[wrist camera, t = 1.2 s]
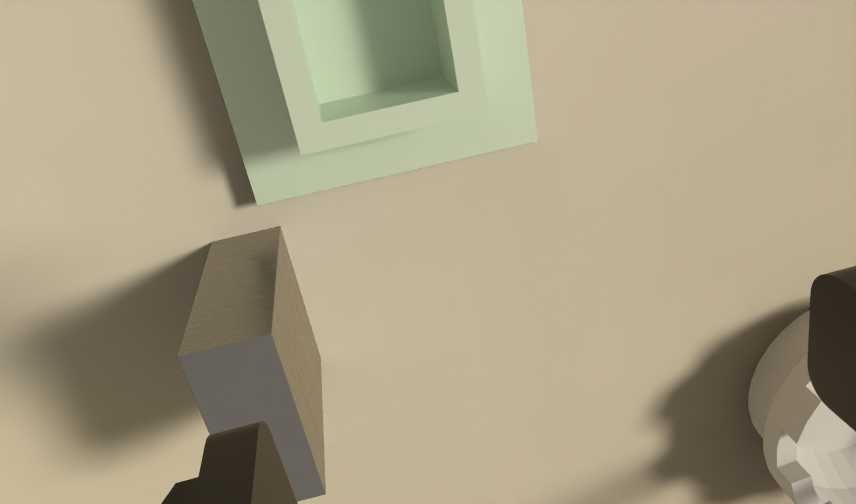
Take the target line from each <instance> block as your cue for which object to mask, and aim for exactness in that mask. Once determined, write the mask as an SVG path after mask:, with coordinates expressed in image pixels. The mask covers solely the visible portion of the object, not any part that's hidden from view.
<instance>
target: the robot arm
mask: <svg viewBox="0 0 856 504" xmlns="http://www.w3.org/2000/svg"><path fill="white" fill-rule="evenodd" d="M807 367H808V373H809V377H810V380H811V383H812V385H813V387H814V390H815V391H816V393H817V395H818V396H819V398H820V399H821V401H822V402H823V403H824V404H825V405H826V406H827V407H828V408H829V409H830V410H831V411H832V412H834V413H835V414H836V415H837V416H838V417H839V418H840V419H842V420H843V421H844V422H845V423H846V424H847V425H848V426H849V427H851V428H852V429H853V430H854V431H855V432H856V266H854V267H850V268H846V269H842V270H838V271H835V272H831V273H827V274H823V275H820V276H818V277H817V278H816V279H815V280H814V282H813V284H812V287H811V296H810V317H809V338H808V359H807ZM162 504H297V501H296V498H295V495H294V493H293V490H292V487H291V485H290V482H289V479H288V477H287V474H286V471H285V469H284V466H283V464H282V461H281V458H280V456H279V453H278V450H277V448H276V445H275V442H274V440H273V437H272V434H271V432H270V430H269V428H268V426H267V424H266V423H265V422H264V421H261V422H257V423H253V424H249V425H246V426H242V427H238V428H234V429H230V430H227V431H223V432H219V433H215V434H212V435H209V436H208V437H207V439H206V443H205V448H204V453H203V457H202V462H201V467H200V472H199V477H197V478H194V479H190V480H186V481H182V482H179V483H176V484H175V485H174V486H173V488H172V489H171V491H170V492H169V494H168V495H167V496H166V498H165V499H164V501H163V502H162Z"/></svg>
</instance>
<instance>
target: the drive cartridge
mask: <svg viewBox="0 0 856 504" xmlns="http://www.w3.org/2000/svg"><path fill="white" fill-rule="evenodd" d="M177 357H178V360H179V362H180V364H181V367H182V369H183V372H184V374H185V376H186V379H187V381H188V384H189V386H190V388H191V391H192V393H193V396H194V398H195V400H196V403H197V405H198V407H199V410H200V412H201V415H202V417H203V419H204V422H205V424H206V427H207V429H208V431H209V434H210V435H212V434H215V433H219V432H223V431H227V430H230V429H234V428H238V427H242V426H246V425H249V424H253V423H257V422H261V421H264V422H265V423H266V424H267V426H268V428H269V430H270V432H271V434H272V437H273V440H274V442H275V445H276V448H277V450H278V453H279V456H280V458H281V461H282V464H283V466H284V469H285V471H286V474H287V477H288V479H289V482H290V485H291V487H292V490H293V493H294V495H295V498H296V501H301V500H305V499H309V498H313V497H317V496H320V495H324V494H326V489H325V462H324V436H323V410H322V384H321V358H320V354H319V351H318V348H317V344H316V341H315V338H314V335H313V331H312V328H311V325H310V322H309V318H308V315H307V312H306V308H305V305H304V302H303V299H302V295H301V292H300V289H299V286H298V282H297V279H296V276H295V273H294V269H293V266H292V263H291V259H290V256H289V253H288V250H287V246H286V243H285V240H284V237H283V233H282V230H281V227H280V226H278V227H274V228H270V229H266V230H261V231H257V232H253V233H249V234H244V235H240V236H236V237H231V238H227V239H223V240H219V241H214V242H212V243H211V246H210V250H209V253H208V256H207V259H206V263H205V266H204V269H203V273H202V276H201V279H200V283H199V286H198V289H197V293H196V296H195V299H194V302H193V306H192V309H191V312H190V316H189V319H188V322H187V326H186V329H185V332H184V336H183V339H182V342H181V345H180V349H179V352H178V355H177Z"/></svg>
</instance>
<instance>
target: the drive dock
mask: <svg viewBox="0 0 856 504" xmlns="http://www.w3.org/2000/svg"><path fill="white" fill-rule="evenodd" d="M192 2H193V5H194V8H195V11H196V14H197V17H198V20H199V24H200V27H201V30H202V33H203V36H204V39H205V42H206V46H207V49H208V52H209V55H210V58H211V61H212V64H213V68H214V71H215V74H216V77H217V80H218V83H219V86H220V90H221V93H222V96H223V99H224V102H225V105H226V108H227V112H228V115H229V118H230V121H231V124H232V127H233V130H234V134H235V137H236V140H237V143H238V146H239V149H240V153H241V156H242V159H243V162H244V165H245V168H246V171H247V175H248V178H249V181H250V184H251V187H252V190H253V193H254V197H255V200H256V203H257V206H259V205H263V204H267V203H272V202H276V201H280V200H284V199H289V198H293V197H297V196H302V195H306V194H310V193H315V192H319V191H323V190H328V189H332V188H336V187H341V186H345V185H349V184H354V183H358V182H362V181H367V180H371V179H375V178H380V177H384V176H388V175H392V174H397V173H401V172H405V171H410V170H414V169H418V168H423V167H427V166H431V165H436V164H440V163H444V162H449V161H453V160H457V159H462V158H466V157H470V156H475V155H479V154H483V153H487V152H492V151H496V150H500V149H505V148H509V147H513V146H518V145H522V144H526V143H531V142H535V141H538V136H537V128H536V119H535V111H534V102H533V94H532V85H531V76H530V68H529V59H528V51H527V42H526V34H525V25H524V17H523V8H522V0H192Z"/></svg>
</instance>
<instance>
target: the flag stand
mask: <svg viewBox="0 0 856 504" xmlns="http://www.w3.org/2000/svg"><path fill="white" fill-rule="evenodd" d="M809 317H810V310H808V311H807V312H805V313H803V314H802V315H800V316H799V317H797V318H796V319H795V320H794V321H793V322H792V323H791V324H789V325H788V326H787V327H786V328H785V329H784V330H783V331H782V332H781V333H780V334H779V335H778V336H777V337H776V338H775V340H774V341H773V342H772V343H771V344H770V345H769V347H768V348H767V350H766V351H765V353H764V355H763V356H762V358H761V359H760V361H759V363H758V365H757V367H756V370H755V372H754V375H753V377H752V379H751V384H750V389H749V394H748V408H749V413H750V417H751V421H752V424H753V425H754V427H755V428H756V430H757V432H758V433H759V435H760V436H761V437H762V438H763V453H764V456H765V460H766V464H767V467H768V469H769V471H770V473H771V474H772V476H773V477H774V479H775V480H776V482H777V483H778V484H779V485H780V487H781V488H782V489H783V490H784V491H785V492H786V494H787V495H788V496H789V497H790V498H791V499H792V501H793V502H794V503H795V504H856V432H855V431H854V430H853V429H852V428H851V427H849V426H848V425H847V424H846V423H845V422H844V421H843V420H842V419H840V418H839V417H838V416H837V415H836V414H835V413H834V412H832V411H831V410H830V409H829V408H828V407H827V406H826V405H825V404H824V403H823V402H822V401H821V399H820V398H819V396H818V395H817V393H816V391H815V390H814V387H813V385H812V383H811V380H810V377H809V373H808V367H807V359H808V338H809Z"/></svg>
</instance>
